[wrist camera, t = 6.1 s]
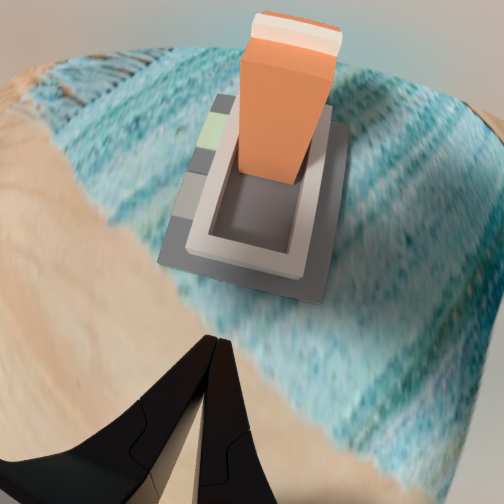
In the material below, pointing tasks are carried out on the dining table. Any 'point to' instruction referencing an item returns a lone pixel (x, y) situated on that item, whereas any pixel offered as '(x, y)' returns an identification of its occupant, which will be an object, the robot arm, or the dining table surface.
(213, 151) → the grey framed base plate
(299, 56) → the orange juice carton
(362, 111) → the dining table surface
